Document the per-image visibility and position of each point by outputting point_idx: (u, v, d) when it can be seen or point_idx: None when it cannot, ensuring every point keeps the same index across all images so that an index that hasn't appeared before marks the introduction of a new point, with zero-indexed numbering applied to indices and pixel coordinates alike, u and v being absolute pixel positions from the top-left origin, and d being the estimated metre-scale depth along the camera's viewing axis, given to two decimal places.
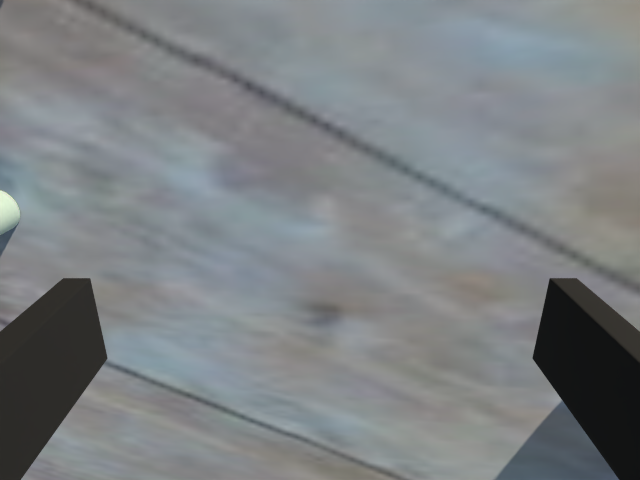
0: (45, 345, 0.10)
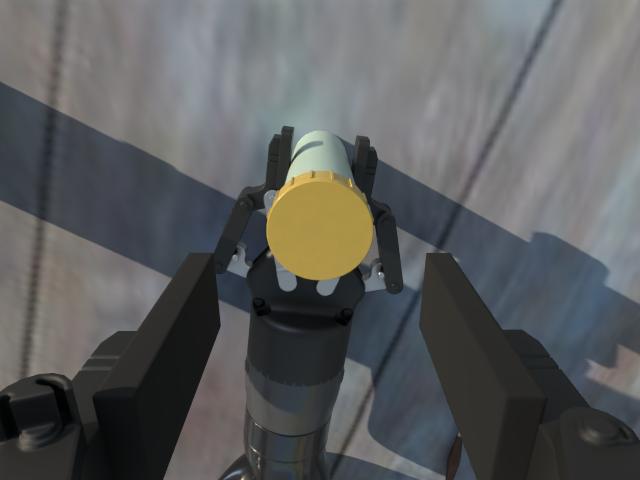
0: (195, 306, 0.12)
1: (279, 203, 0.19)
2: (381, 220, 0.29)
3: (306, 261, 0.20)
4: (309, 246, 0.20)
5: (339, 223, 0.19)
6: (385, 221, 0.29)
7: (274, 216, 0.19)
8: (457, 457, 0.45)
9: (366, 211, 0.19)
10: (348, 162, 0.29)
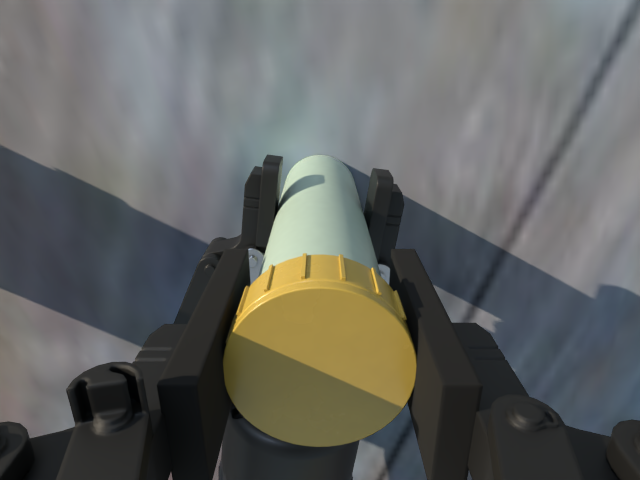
0: (236, 300, 0.12)
1: (244, 326, 0.10)
2: None
3: (295, 418, 0.11)
4: (300, 395, 0.11)
5: (355, 359, 0.10)
6: None
7: (235, 347, 0.10)
8: None
9: (405, 339, 0.10)
10: (361, 207, 0.20)
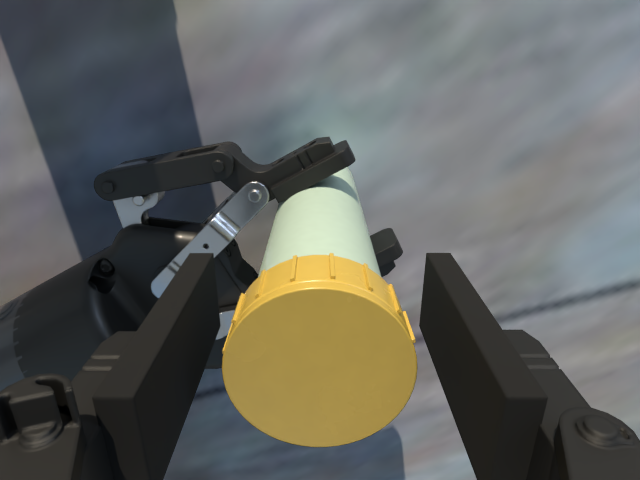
0: (195, 306, 0.12)
1: (232, 391, 0.11)
2: None
3: (346, 418, 0.11)
4: (327, 400, 0.11)
5: (327, 342, 0.10)
6: None
7: (246, 408, 0.11)
8: None
9: (342, 294, 0.10)
10: None
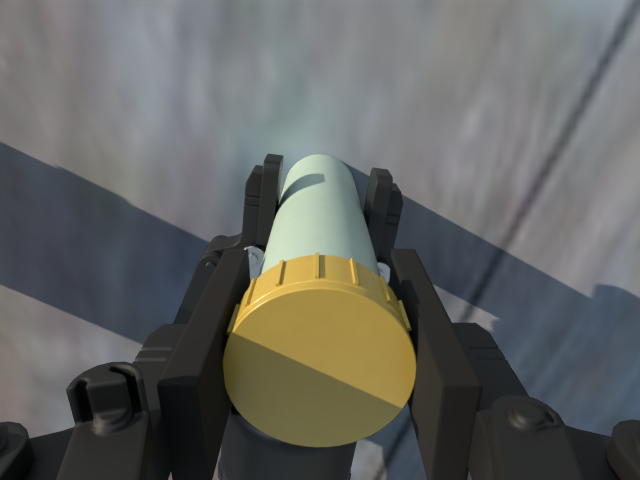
0: (236, 300, 0.12)
1: (285, 438, 0.11)
2: None
3: (380, 382, 0.11)
4: (350, 384, 0.11)
5: (292, 350, 0.10)
6: None
7: (310, 440, 0.11)
8: None
9: (255, 313, 0.10)
10: (360, 206, 0.20)
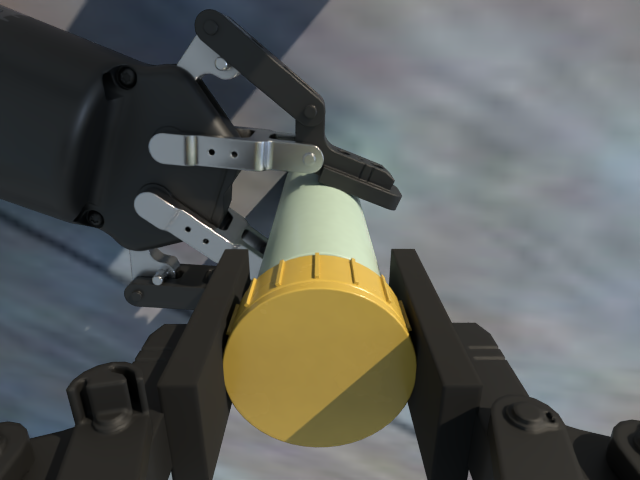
0: (236, 300, 0.12)
1: (285, 438, 0.11)
2: None
3: (380, 382, 0.11)
4: (349, 384, 0.11)
5: (292, 350, 0.10)
6: None
7: (310, 440, 0.11)
8: None
9: (255, 313, 0.10)
10: None
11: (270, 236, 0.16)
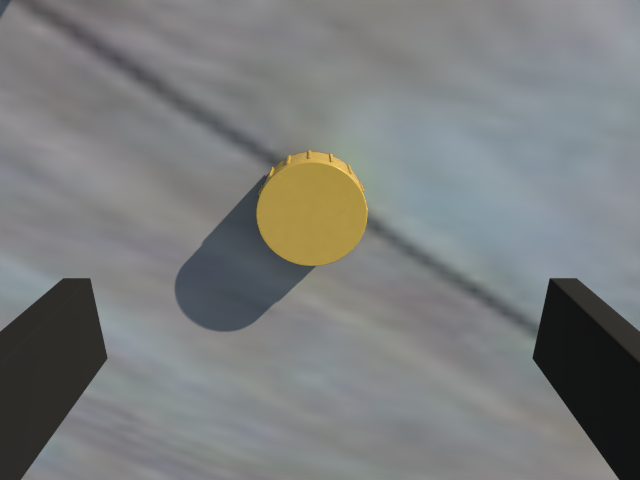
0: (45, 345, 0.10)
1: (292, 259, 0.20)
2: None
3: (346, 221, 0.19)
4: (329, 222, 0.19)
5: (296, 200, 0.18)
6: None
7: (307, 261, 0.20)
8: None
9: (275, 177, 0.18)
10: None
11: None
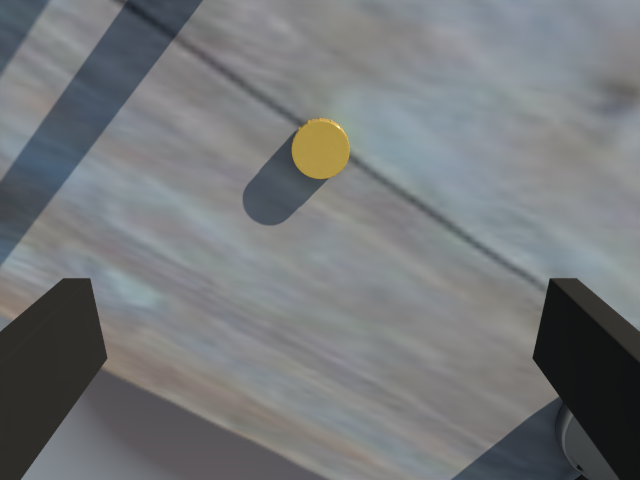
0: (45, 345, 0.10)
1: (310, 175, 0.37)
2: None
3: (338, 153, 0.36)
4: (329, 154, 0.36)
5: (312, 142, 0.36)
6: None
7: (317, 176, 0.37)
8: None
9: (302, 129, 0.35)
10: None
11: None
